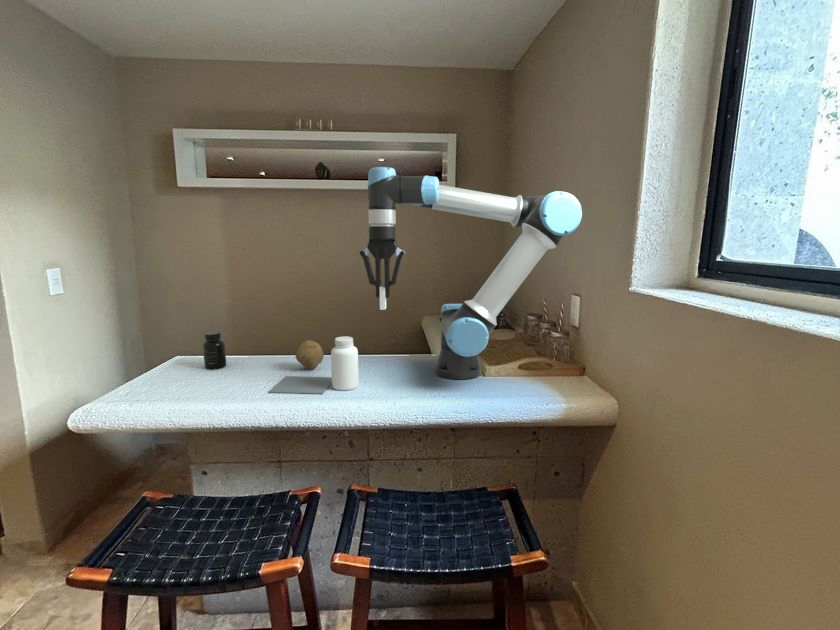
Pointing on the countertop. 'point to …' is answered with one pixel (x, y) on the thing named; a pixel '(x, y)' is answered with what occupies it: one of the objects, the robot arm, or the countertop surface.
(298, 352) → the natural sponge
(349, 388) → the pill bottle
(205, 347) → the supplement bottle
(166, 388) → the countertop surface
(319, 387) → the mat
